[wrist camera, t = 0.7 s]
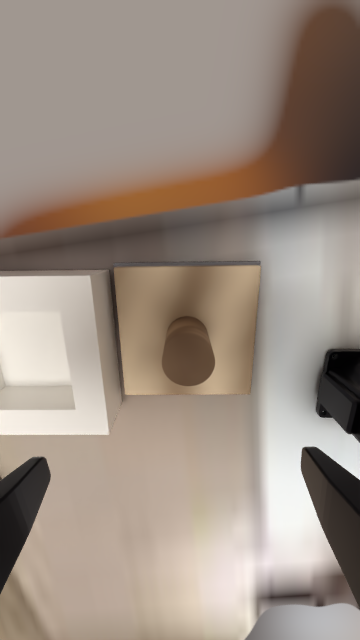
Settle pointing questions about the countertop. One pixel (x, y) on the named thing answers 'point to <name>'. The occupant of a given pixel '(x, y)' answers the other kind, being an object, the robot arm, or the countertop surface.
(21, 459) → the countertop surface
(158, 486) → the countertop surface
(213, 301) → the lid
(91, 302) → the dish
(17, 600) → the countertop surface
